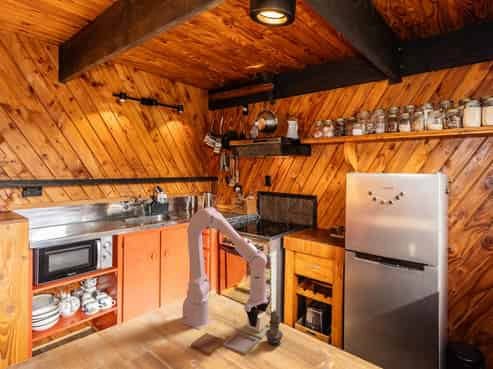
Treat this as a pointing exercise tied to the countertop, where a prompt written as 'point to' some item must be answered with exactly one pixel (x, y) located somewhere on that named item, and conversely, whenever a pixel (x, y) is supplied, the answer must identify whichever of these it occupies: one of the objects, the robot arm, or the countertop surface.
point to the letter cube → (259, 322)
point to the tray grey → (241, 342)
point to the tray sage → (254, 332)
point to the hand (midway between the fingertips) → (256, 322)
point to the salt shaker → (274, 330)
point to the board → (207, 343)
